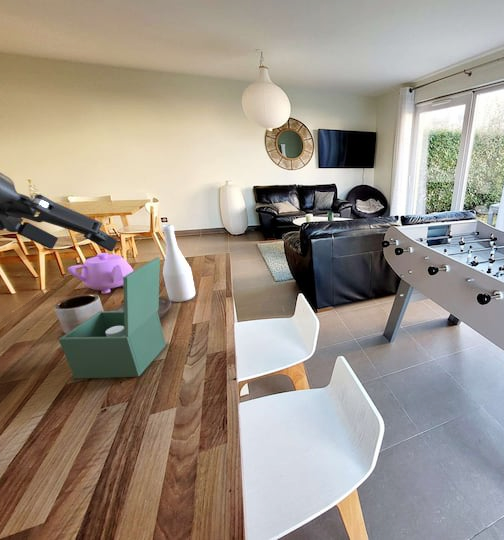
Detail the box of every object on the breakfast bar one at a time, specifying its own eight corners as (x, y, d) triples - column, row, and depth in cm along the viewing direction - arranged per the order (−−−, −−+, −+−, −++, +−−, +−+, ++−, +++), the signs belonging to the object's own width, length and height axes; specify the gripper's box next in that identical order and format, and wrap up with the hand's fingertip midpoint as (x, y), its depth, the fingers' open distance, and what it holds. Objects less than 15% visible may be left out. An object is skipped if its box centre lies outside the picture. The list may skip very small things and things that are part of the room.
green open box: (74, 378, 74) (58, 339, 70) (111, 346, 87) (99, 311, 82) (138, 376, 76) (126, 338, 71) (166, 345, 89) (157, 310, 84)
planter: (54, 332, 92) (43, 306, 88) (91, 315, 102) (83, 291, 98) (80, 338, 90) (70, 312, 86) (115, 320, 100) (107, 296, 96)
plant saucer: (144, 332, 94) (142, 324, 93) (98, 325, 97) (95, 317, 96) (183, 306, 111) (182, 299, 109) (143, 301, 113) (141, 294, 112)
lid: (123, 276, 66) (127, 277, 66) (156, 257, 78) (159, 257, 78) (124, 336, 71) (128, 336, 71) (155, 309, 84) (158, 309, 84)
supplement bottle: (118, 367, 78) (108, 337, 74) (107, 360, 80) (97, 331, 76) (139, 355, 82) (131, 327, 79) (129, 350, 84) (120, 322, 81)
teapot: (90, 304, 109) (78, 268, 103) (69, 291, 118) (56, 257, 112) (147, 286, 125) (139, 254, 119) (125, 276, 134) (116, 245, 128)
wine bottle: (184, 304, 112) (168, 229, 101) (163, 301, 114) (145, 227, 102) (201, 293, 121) (188, 223, 110) (181, 291, 122) (166, 221, 111)
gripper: (-133, 195, 43) (20, 257, 63) (28, 202, 43) (132, 262, 62) (-99, 157, 46) (37, 227, 66) (52, 163, 46) (144, 232, 65)
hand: (83, 244), depth 64 cm, fingers open, 13 cm apart
